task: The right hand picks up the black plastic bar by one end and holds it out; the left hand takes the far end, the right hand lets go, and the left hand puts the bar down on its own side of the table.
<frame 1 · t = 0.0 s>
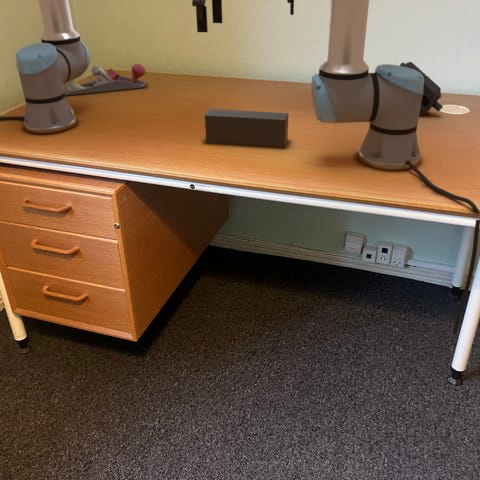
left hand: (210, 27, 150), 28 cm above the table, tool pointing down, fingers open, 13 cm apart
right hand: (313, 13, 166), 28 cm above the table, tool pointing down, fingers open, 13 cm apart
bar: (246, 142, 151), on the table
tool: (408, 111, 171), on the table
hand plane: (105, 89, 198), on the table
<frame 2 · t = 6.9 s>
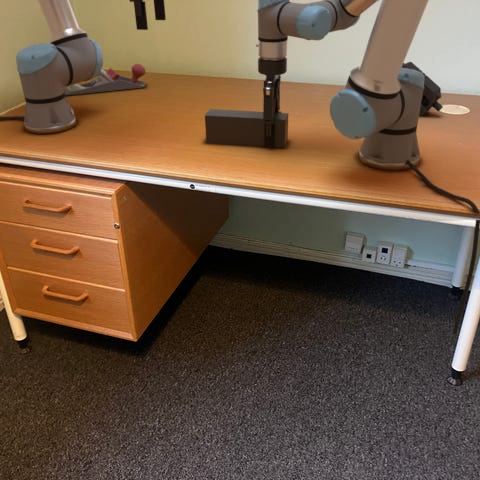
left hand: (151, 24, 140), 31 cm above the table, tool pointing down, fingers open, 13 cm apart
right hand: (271, 141, 149), 1 cm above the table, tool pointing down, fingers closed on bar, 6 cm apart
bar: (246, 142, 151), on the table, touching right hand
everything else where it was.
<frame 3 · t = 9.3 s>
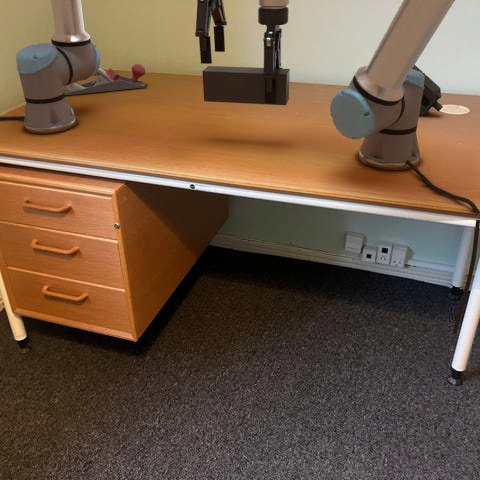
left hand: (213, 57, 140), 23 cm above the table, tool pointing down, fingers open, 13 cm apart
right hand: (272, 99, 143), 13 cm above the table, tool pointing down, fingers closed on bar, 6 cm apart
bar: (246, 100, 145), point 12 cm above the table, touching right hand
everything else where it was.
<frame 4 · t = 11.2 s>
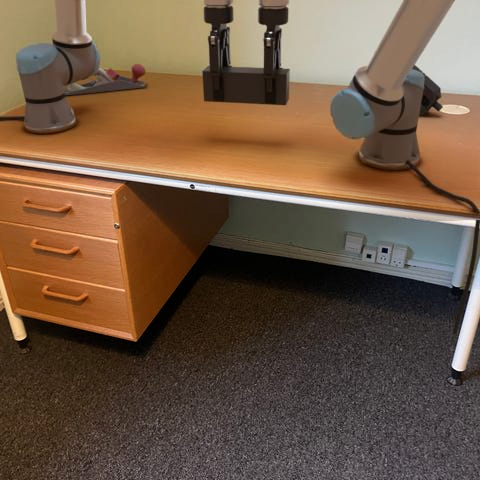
left hand: (221, 96, 146), 13 cm above the table, tool pointing down, fingers closed on bar, 6 cm apart
right hand: (272, 99, 143), 13 cm above the table, tool pointing down, fingers closed on bar, 6 cm apart
bar: (246, 100, 145), point 12 cm above the table, touching right hand, left hand
everything else where it was.
when the right hand's fingers open (13 cm above the table, at t = 11.9 s): bar stays where it is, held by the left hand.
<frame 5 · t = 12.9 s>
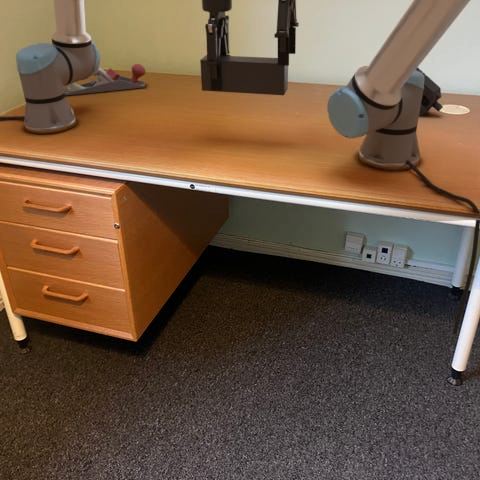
left hand: (219, 86, 145), 15 cm above the table, tool pointing down, fingers closed on bar, 6 cm apart
right hand: (286, 59, 136), 23 cm above the table, tool pointing down, fingers open, 13 cm apart
bar: (244, 90, 143), point 15 cm above the table, touching left hand
everything else where it was.
when the left hand's fingers open (2 cm above the table, at t = 15.7 s): bar drops 2 cm, on the table.
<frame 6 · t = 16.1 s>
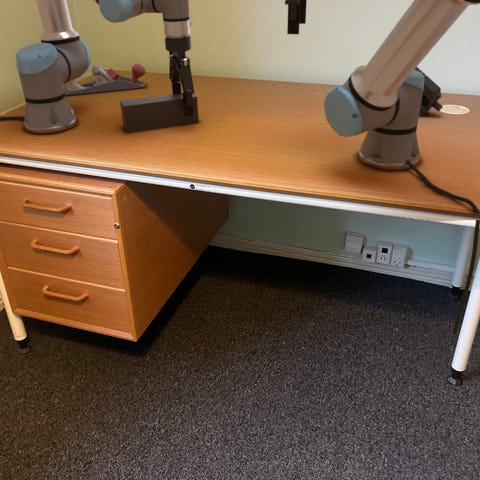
left hand: (183, 109, 165), 4 cm above the table, tool pointing down, fingers open, 11 cm apart
right hand: (296, 28, 132), 31 cm above the table, tool pointing down, fingers open, 13 cm apart
bar: (161, 124, 165), on the table
everything else where it was.
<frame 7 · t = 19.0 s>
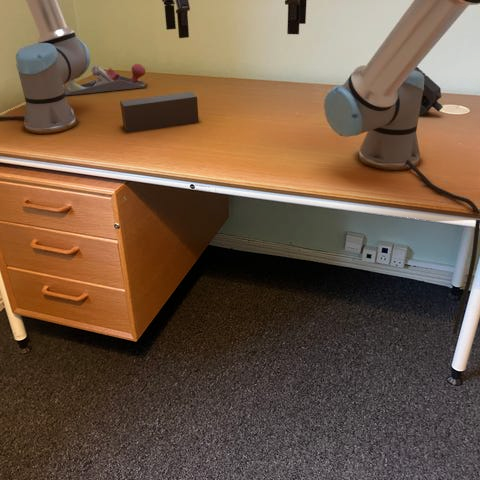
left hand: (177, 33, 153), 26 cm above the table, tool pointing down, fingers open, 13 cm apart
right hand: (296, 28, 132), 31 cm above the table, tool pointing down, fingers open, 13 cm apart
nothing on the table moved.
at the end: bar inside the target area (7.3 cm from its centre), on the table; the left hand is holding nothing; the right hand is holding nothing; bar at rest at the end (0.0 cm/s) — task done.
